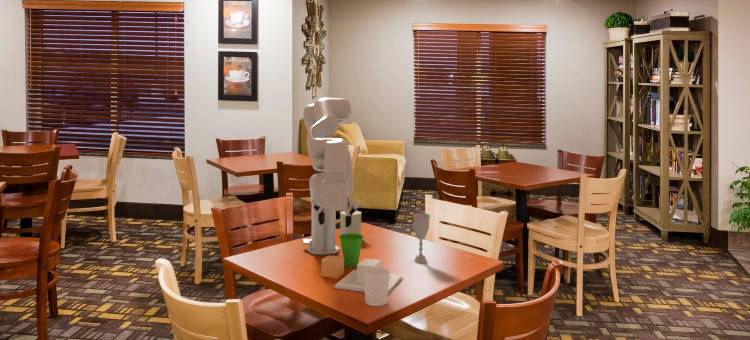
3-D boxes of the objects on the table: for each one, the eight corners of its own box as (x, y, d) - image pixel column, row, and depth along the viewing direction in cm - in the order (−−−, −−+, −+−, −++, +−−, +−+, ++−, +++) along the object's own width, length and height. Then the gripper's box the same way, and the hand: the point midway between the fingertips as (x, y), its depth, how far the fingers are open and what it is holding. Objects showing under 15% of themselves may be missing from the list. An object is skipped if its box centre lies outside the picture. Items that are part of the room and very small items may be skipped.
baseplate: (334, 288, 201) (334, 284, 201) (353, 272, 218) (353, 269, 218) (386, 294, 196) (387, 291, 196) (402, 278, 213) (402, 274, 213)
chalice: (428, 264, 229) (429, 217, 226) (410, 263, 230) (411, 216, 228) (430, 259, 236) (431, 213, 234) (412, 258, 237) (414, 212, 235)
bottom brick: (356, 282, 204) (357, 264, 203) (364, 275, 212) (365, 258, 211) (373, 284, 202) (374, 266, 201) (381, 277, 210) (381, 260, 209)
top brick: (321, 276, 214) (321, 259, 213) (328, 271, 219) (328, 255, 218) (337, 278, 212) (337, 261, 211) (343, 273, 217) (343, 257, 216)
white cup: (373, 296, 194) (373, 265, 193) (393, 301, 190) (394, 270, 188) (358, 303, 188) (358, 272, 186) (379, 309, 183) (380, 276, 182)
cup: (366, 263, 230) (366, 234, 228) (358, 269, 221) (358, 240, 220) (344, 260, 233) (344, 232, 231) (335, 267, 224) (335, 237, 223)
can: (363, 236, 270) (363, 210, 268) (358, 241, 261) (358, 214, 259) (343, 235, 272) (343, 208, 270) (337, 240, 263) (337, 212, 261)
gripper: (307, 176, 209) (307, 225, 212) (355, 180, 204) (354, 230, 207) (316, 173, 216) (316, 220, 219) (362, 176, 211) (361, 225, 214)
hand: (334, 225), depth 213 cm, fingers open, 9 cm apart
